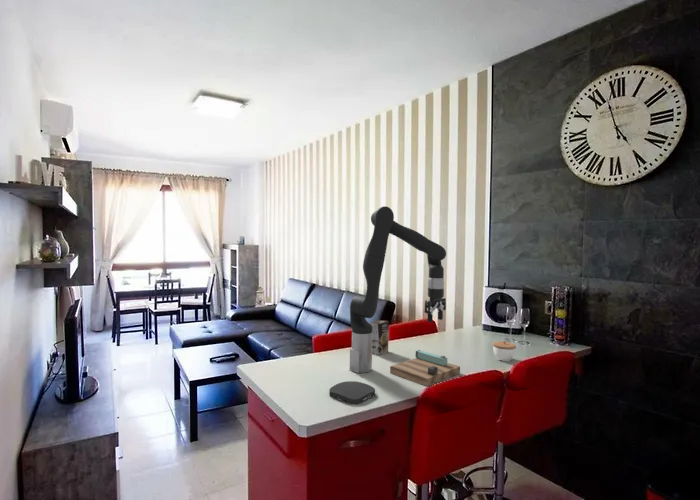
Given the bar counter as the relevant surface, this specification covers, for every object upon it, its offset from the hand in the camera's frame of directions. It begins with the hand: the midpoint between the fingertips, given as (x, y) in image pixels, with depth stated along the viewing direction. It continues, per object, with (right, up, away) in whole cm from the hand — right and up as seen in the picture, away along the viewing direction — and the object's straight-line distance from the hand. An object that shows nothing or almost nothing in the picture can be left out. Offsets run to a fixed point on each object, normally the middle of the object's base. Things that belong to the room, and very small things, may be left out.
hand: (435, 320), depth 186 cm
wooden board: (-8, -21, -15) cm, 26 cm away
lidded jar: (+36, -21, +7) cm, 42 cm away
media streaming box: (-40, -21, -40) cm, 61 cm away
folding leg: (-4, -17, -7) cm, 19 cm away
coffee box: (-26, -20, +16) cm, 36 cm away
